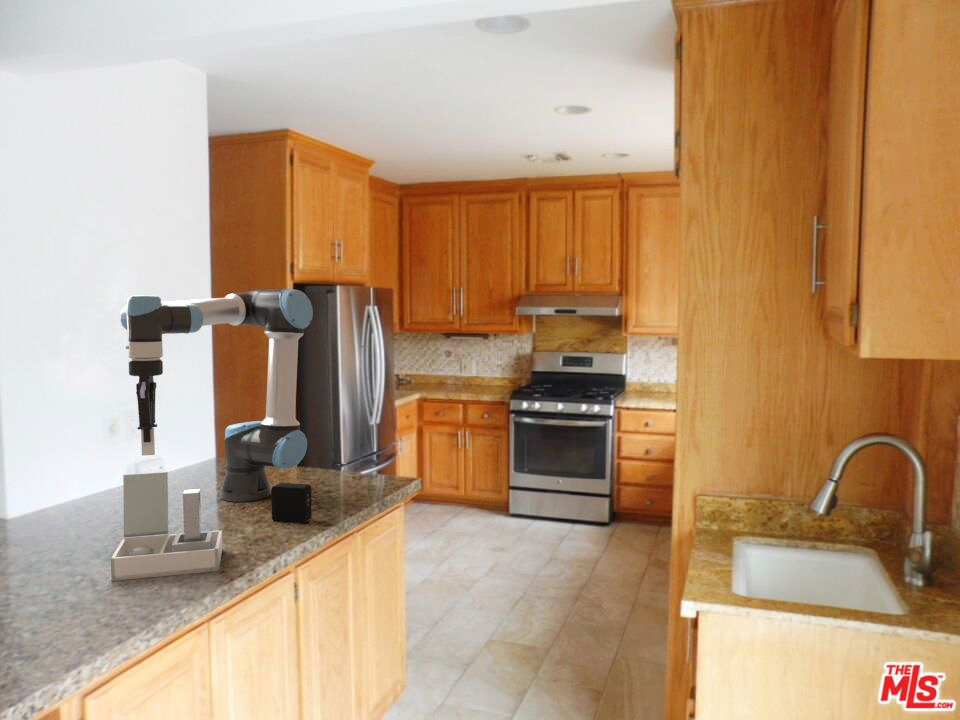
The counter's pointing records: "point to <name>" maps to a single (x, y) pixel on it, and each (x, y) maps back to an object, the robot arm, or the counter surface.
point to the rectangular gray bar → (192, 515)
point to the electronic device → (291, 503)
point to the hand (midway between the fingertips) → (148, 454)
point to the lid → (145, 504)
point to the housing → (166, 556)
